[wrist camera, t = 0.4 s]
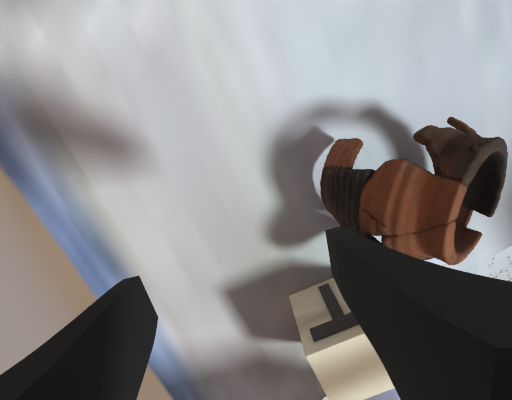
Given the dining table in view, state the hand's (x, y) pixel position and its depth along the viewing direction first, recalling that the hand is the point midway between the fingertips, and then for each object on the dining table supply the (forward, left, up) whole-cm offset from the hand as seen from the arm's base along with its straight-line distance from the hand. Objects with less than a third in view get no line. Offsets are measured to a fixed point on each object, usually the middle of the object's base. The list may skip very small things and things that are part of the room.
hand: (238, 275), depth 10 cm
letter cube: (-13, -5, -10) cm, 17 cm away
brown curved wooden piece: (-3, -8, -11) cm, 14 cm away
